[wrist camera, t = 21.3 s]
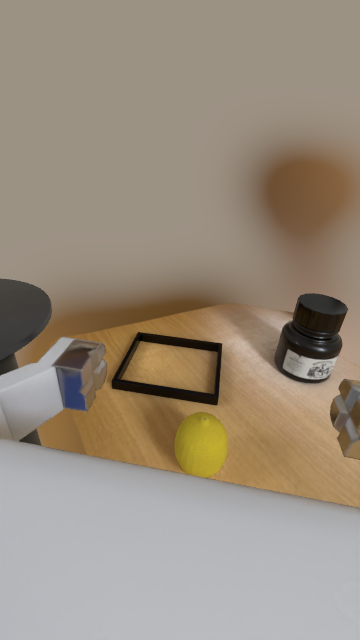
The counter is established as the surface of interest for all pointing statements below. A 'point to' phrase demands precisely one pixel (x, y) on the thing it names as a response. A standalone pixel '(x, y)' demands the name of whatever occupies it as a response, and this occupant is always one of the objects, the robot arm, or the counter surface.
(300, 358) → the ink bottle
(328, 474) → the counter surface
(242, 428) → the counter surface
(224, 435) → the lemon
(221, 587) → the robot arm
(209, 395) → the black square frame
